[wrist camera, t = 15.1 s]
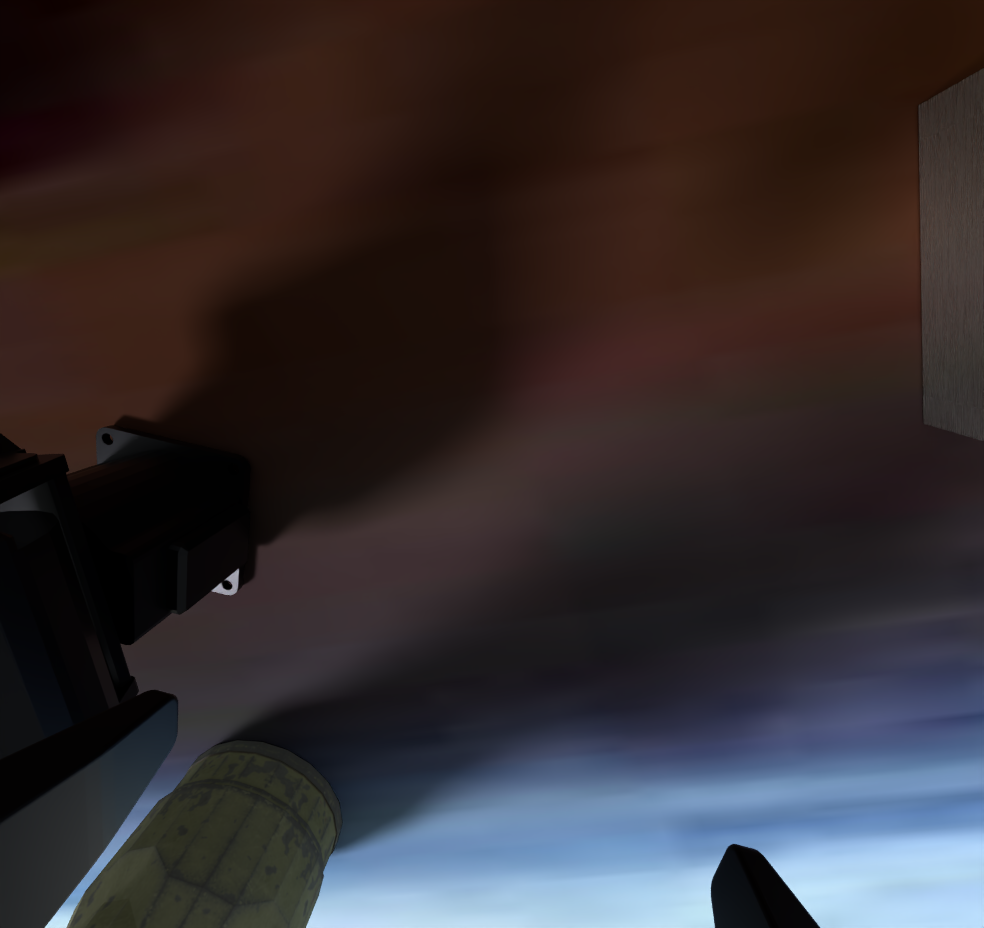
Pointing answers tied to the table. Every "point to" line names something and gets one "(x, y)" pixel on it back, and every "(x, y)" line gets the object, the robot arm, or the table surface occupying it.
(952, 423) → the housing
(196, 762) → the thermos
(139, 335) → the table surface
